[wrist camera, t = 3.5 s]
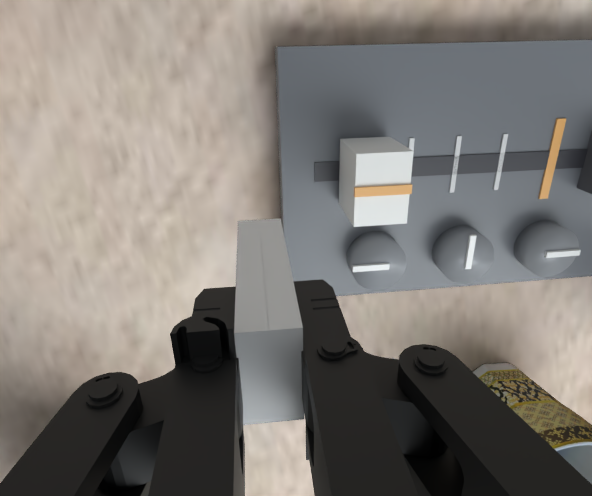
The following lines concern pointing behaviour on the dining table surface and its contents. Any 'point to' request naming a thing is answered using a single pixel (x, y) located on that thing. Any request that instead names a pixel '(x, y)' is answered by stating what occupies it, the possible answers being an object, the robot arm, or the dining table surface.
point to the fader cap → (375, 180)
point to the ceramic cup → (542, 414)
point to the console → (441, 161)
